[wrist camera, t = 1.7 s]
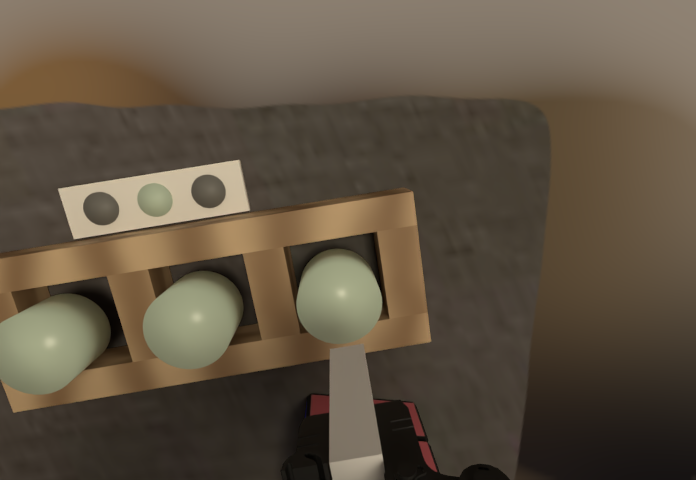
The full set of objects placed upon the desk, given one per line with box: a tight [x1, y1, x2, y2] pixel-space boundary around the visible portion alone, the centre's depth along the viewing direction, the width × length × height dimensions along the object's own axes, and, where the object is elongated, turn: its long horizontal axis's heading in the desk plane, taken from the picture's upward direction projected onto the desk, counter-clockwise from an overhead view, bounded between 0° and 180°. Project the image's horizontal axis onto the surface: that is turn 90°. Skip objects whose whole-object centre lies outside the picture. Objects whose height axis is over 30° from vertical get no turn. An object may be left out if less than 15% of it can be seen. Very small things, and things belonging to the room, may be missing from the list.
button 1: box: [296, 249, 382, 344], centre depth 28 cm, size 6×6×4 cm
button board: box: [0, 188, 431, 413], centre depth 32 cm, size 33×12×4 cm, turn 99°
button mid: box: [143, 271, 244, 369], centre depth 28 cm, size 6×6×4 cm
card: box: [58, 160, 251, 239], centre depth 31 cm, size 14×4×1 cm, turn 99°
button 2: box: [0, 293, 111, 395], centre depth 28 cm, size 6×6×4 cm
